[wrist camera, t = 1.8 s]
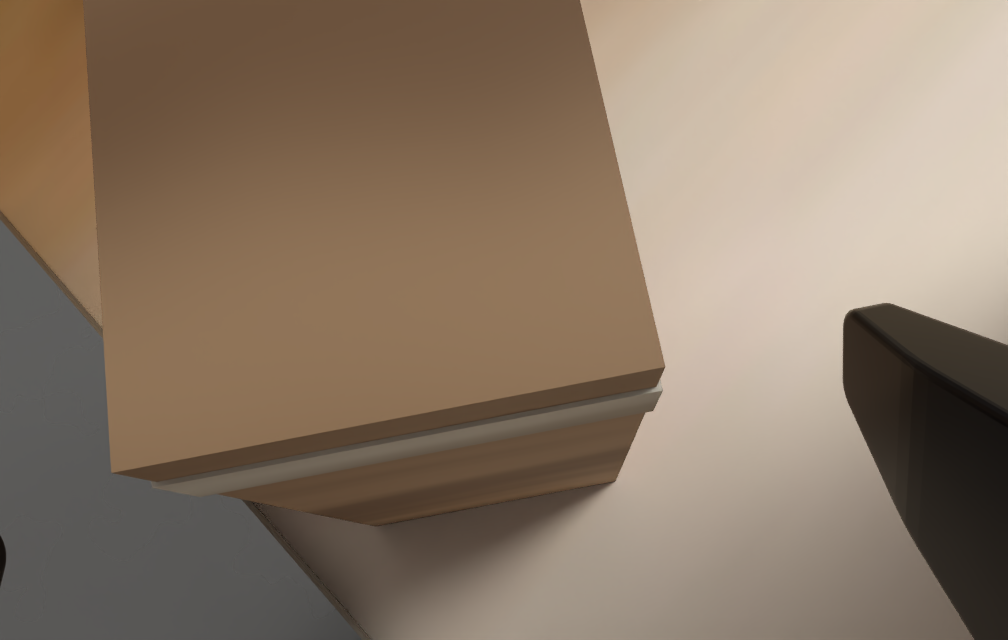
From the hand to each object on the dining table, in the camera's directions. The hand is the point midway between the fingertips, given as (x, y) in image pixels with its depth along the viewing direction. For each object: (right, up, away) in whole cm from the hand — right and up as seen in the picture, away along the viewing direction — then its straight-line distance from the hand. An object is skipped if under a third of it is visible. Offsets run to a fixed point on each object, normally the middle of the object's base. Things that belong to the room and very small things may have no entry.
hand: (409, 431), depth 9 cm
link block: (0, 0, +10) cm, 10 cm away
